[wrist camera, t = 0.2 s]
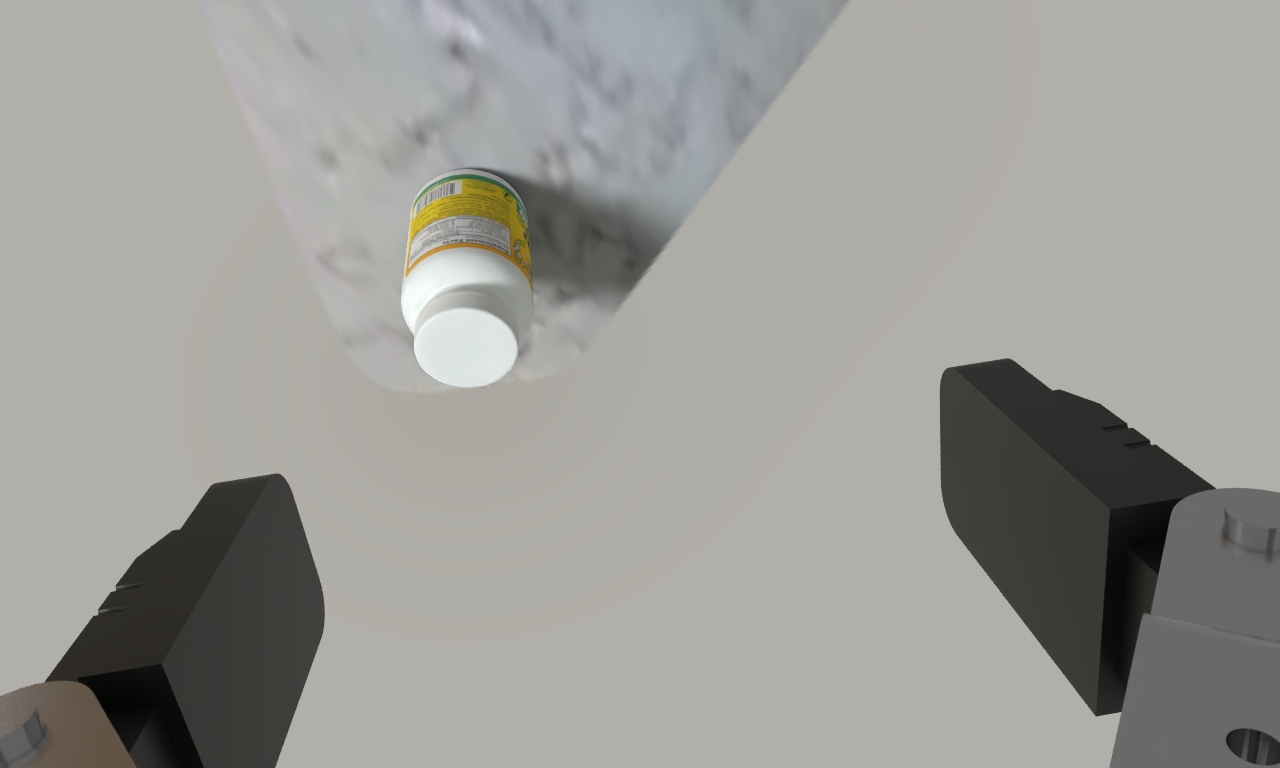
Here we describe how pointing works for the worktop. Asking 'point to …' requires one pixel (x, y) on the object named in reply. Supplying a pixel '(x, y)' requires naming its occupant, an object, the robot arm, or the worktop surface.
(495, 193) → the supplement bottle
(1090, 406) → the robot arm
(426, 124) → the worktop surface
